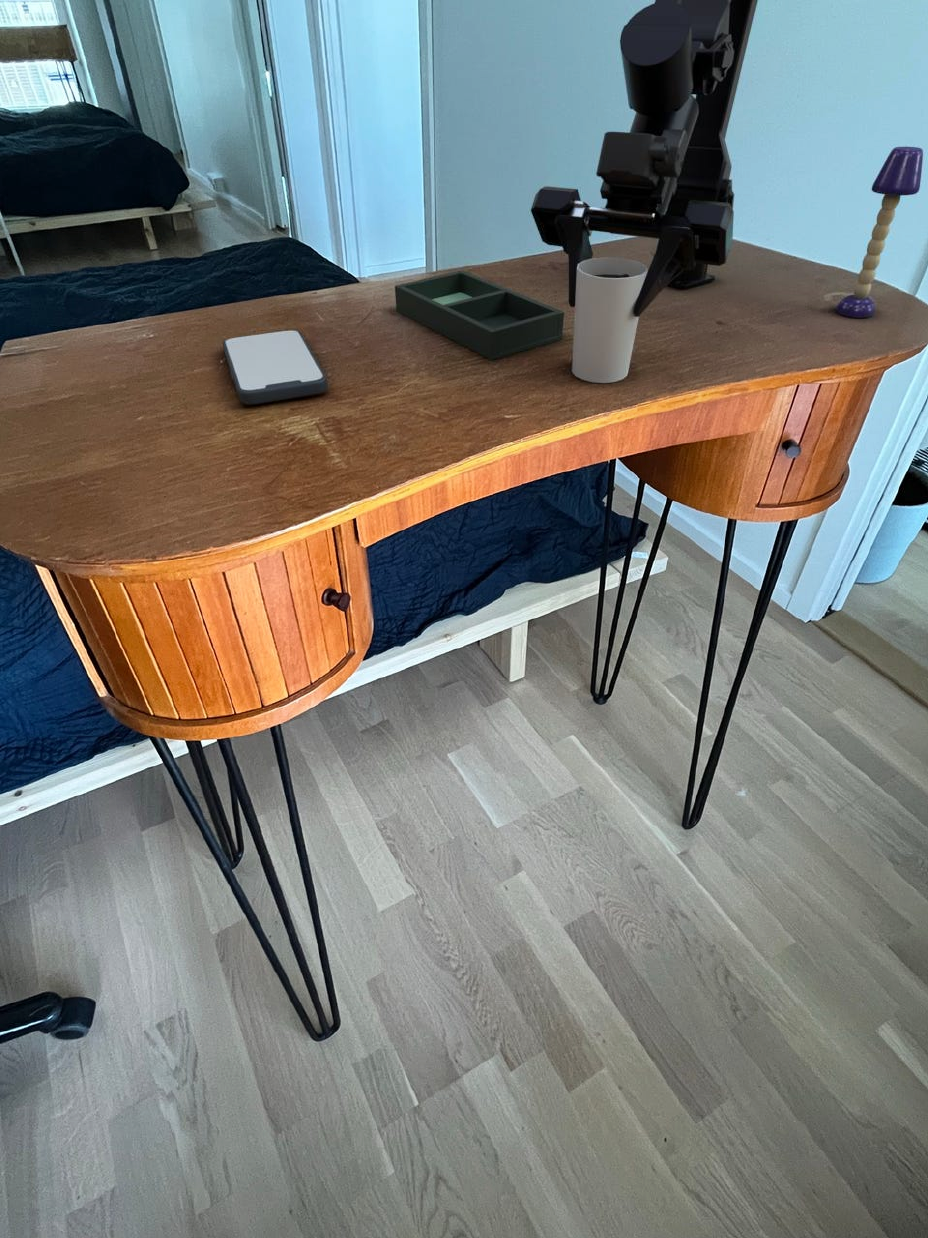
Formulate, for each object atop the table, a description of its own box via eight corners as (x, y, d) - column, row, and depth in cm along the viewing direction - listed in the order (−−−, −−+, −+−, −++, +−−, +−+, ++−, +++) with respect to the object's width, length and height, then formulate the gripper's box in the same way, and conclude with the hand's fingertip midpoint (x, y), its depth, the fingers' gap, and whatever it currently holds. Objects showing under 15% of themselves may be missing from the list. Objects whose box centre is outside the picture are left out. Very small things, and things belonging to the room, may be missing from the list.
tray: (462, 294, 92) (462, 269, 90) (562, 339, 80) (564, 311, 78) (396, 310, 88) (394, 285, 86) (491, 360, 76) (491, 331, 74)
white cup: (610, 353, 77) (623, 253, 70) (645, 377, 72) (662, 272, 65) (556, 364, 75) (563, 262, 68) (588, 389, 70) (600, 282, 63)
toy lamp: (824, 309, 87) (875, 146, 75) (849, 302, 88) (903, 142, 77) (858, 320, 83) (917, 153, 72) (883, 313, 85) (944, 148, 74)
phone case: (223, 353, 79) (241, 410, 67) (219, 338, 78) (237, 393, 66) (302, 341, 81) (332, 395, 70) (299, 327, 80) (330, 379, 69)
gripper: (544, 82, 64) (490, 249, 64) (759, 90, 57) (698, 276, 57) (568, 168, 74) (521, 311, 74) (752, 183, 68) (700, 340, 68)
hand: (602, 309), depth 68 cm, fingers closed on white cup, 6 cm apart
